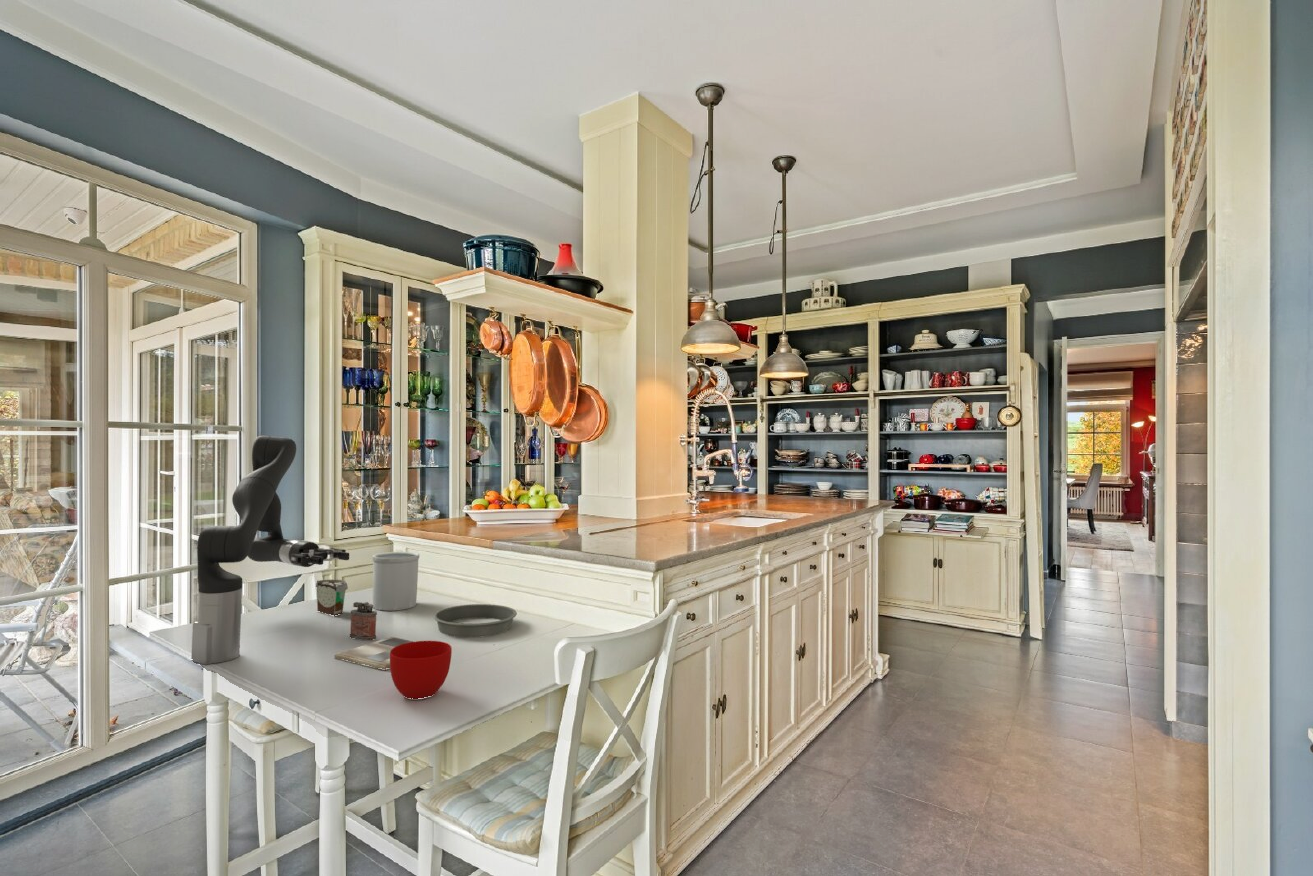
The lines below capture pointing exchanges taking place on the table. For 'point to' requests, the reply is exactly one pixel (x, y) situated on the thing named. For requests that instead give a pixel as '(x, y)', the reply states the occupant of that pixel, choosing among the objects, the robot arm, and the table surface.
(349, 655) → the book
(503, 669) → the table surface
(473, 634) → the cake pan
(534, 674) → the table surface
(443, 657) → the red bowl
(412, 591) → the utensil holder
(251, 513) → the robot arm
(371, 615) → the lighter
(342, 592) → the food container
